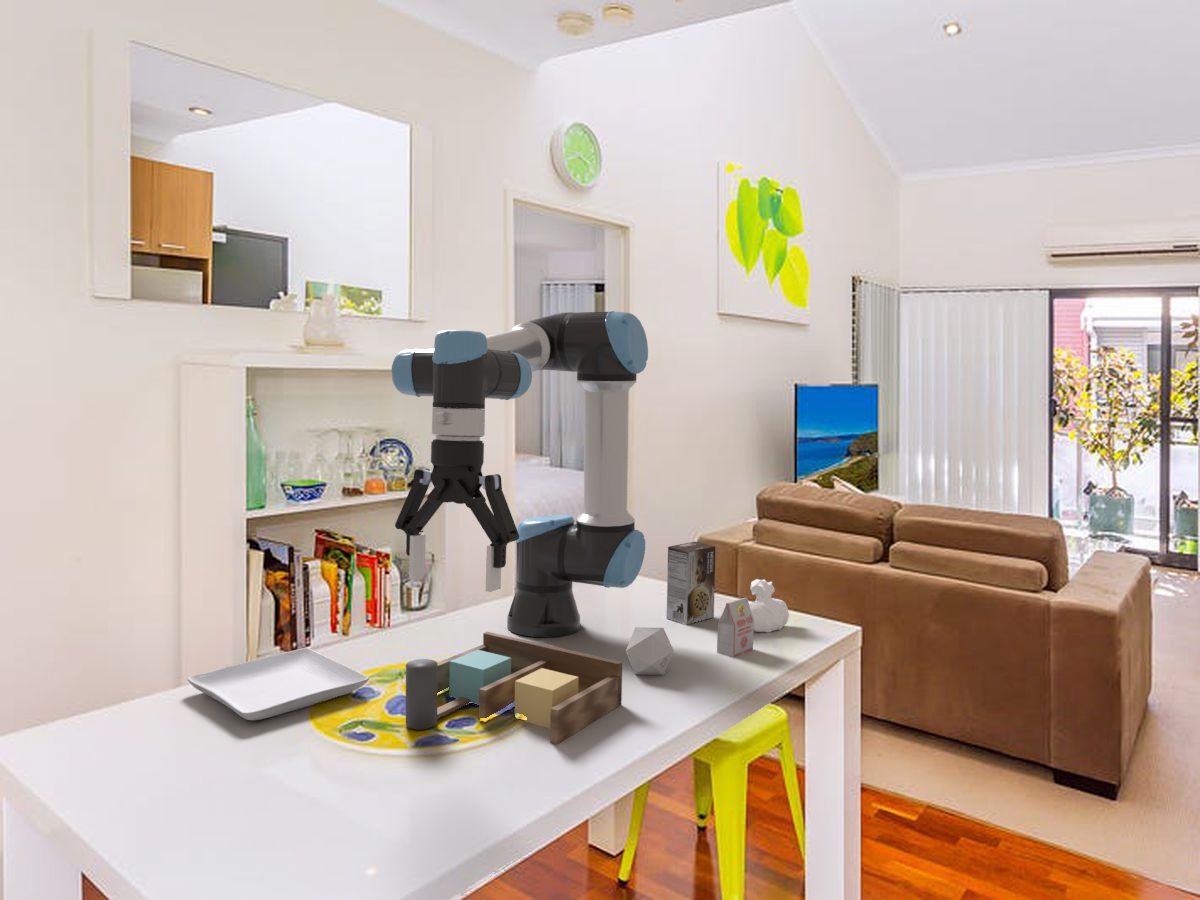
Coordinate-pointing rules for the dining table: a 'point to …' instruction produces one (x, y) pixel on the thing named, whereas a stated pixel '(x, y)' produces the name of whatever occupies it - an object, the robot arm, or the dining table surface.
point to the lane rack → (595, 673)
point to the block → (543, 694)
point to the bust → (767, 608)
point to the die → (649, 651)
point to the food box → (690, 582)
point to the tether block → (463, 685)
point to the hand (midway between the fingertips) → (454, 584)
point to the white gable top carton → (735, 629)
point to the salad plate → (279, 683)
